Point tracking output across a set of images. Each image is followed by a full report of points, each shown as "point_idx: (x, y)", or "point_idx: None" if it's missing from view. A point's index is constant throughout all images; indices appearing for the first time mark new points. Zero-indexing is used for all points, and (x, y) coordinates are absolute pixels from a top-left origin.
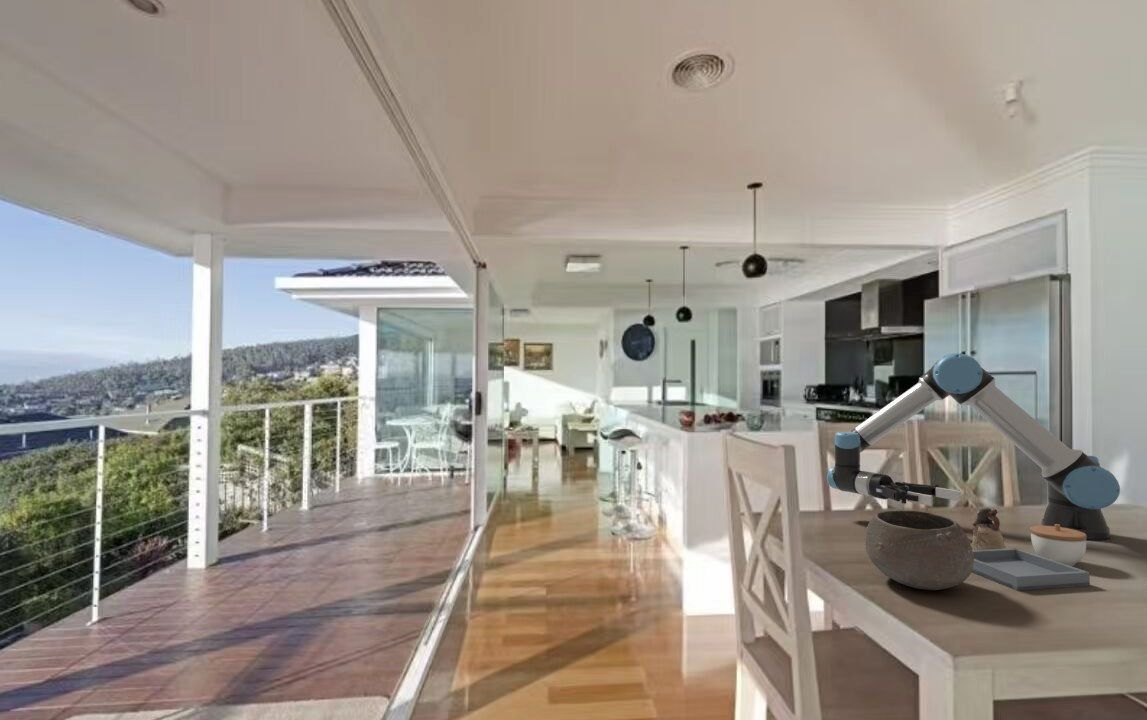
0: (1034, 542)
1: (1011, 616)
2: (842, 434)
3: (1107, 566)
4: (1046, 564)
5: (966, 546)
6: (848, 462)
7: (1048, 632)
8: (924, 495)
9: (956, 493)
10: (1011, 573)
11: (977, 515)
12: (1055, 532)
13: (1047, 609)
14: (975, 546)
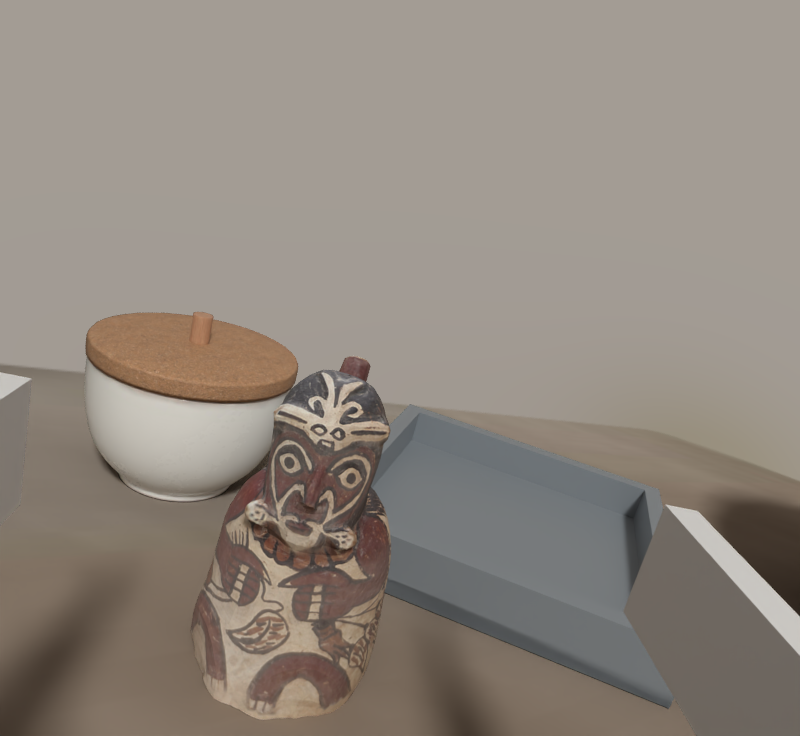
0: (253, 437)
1: (794, 523)
2: None
3: None
4: (381, 465)
5: None
6: None
7: (768, 488)
8: (737, 561)
9: (12, 425)
10: (651, 497)
11: (375, 455)
12: (252, 349)
13: (672, 489)
14: (371, 647)
